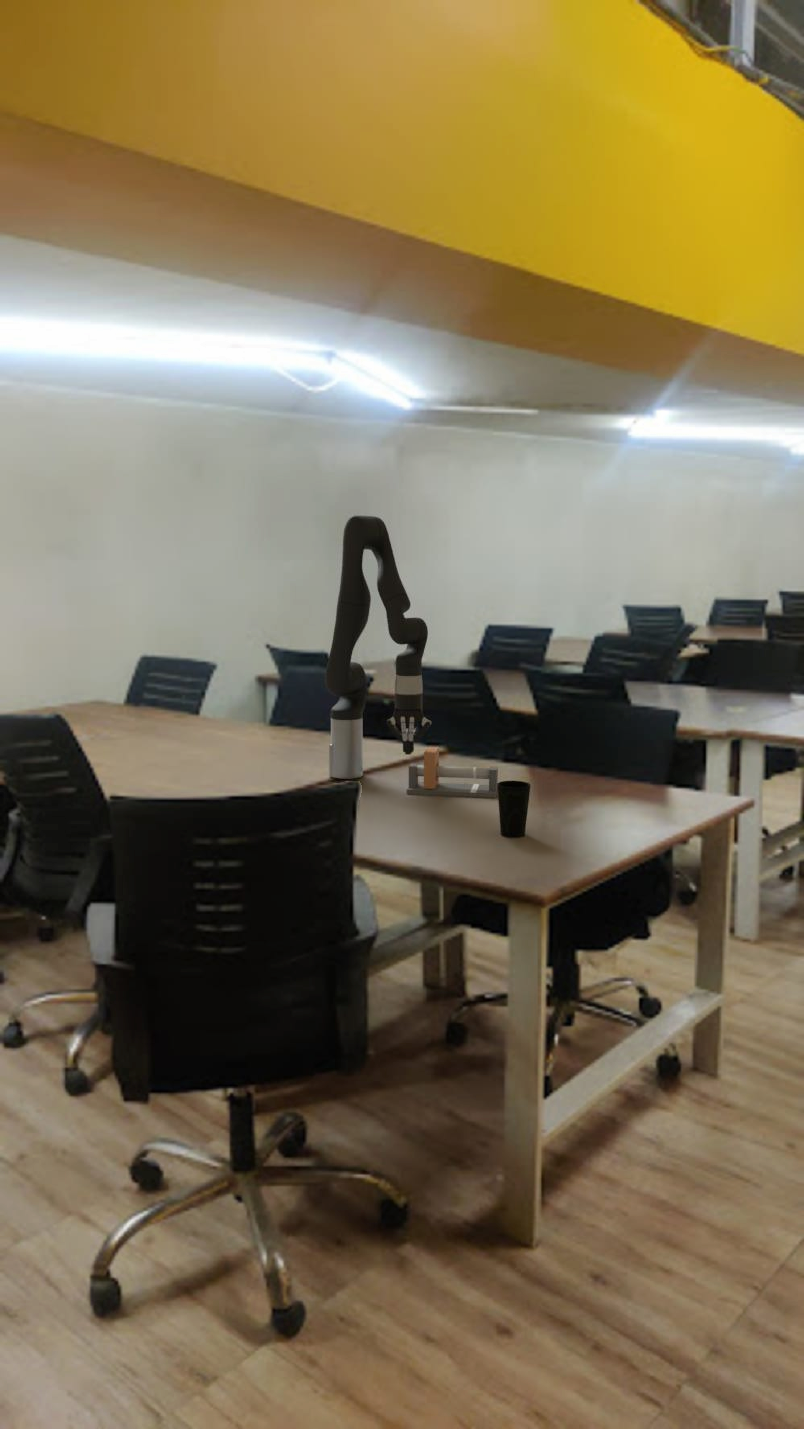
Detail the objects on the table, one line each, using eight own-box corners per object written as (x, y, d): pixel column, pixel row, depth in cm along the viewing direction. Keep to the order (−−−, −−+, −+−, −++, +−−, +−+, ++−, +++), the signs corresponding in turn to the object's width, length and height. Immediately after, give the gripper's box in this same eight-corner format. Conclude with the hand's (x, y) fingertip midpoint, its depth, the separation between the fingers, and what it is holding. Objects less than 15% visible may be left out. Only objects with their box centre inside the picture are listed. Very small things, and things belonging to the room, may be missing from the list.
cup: (493, 830, 242) (494, 780, 240) (525, 829, 243) (526, 780, 241) (499, 839, 234) (500, 788, 232) (532, 838, 235) (533, 787, 233)
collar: (423, 788, 278) (424, 752, 276) (428, 782, 286) (428, 746, 284) (434, 789, 277) (435, 752, 276) (438, 782, 285) (439, 747, 283)
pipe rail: (406, 794, 278) (406, 768, 277) (412, 785, 288) (412, 761, 286) (495, 797, 274) (495, 771, 273) (498, 789, 283) (498, 764, 282)
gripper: (382, 692, 276) (382, 755, 279) (430, 693, 274) (430, 757, 276) (387, 689, 283) (387, 750, 286) (434, 690, 281) (434, 752, 284)
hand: (408, 753), depth 281 cm, fingers closed
